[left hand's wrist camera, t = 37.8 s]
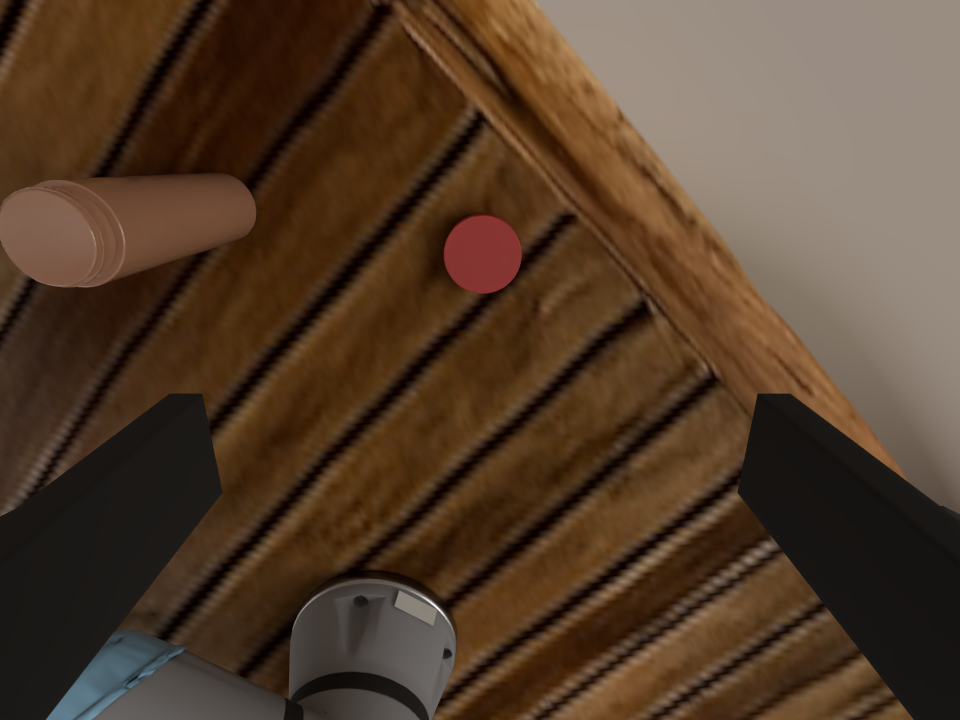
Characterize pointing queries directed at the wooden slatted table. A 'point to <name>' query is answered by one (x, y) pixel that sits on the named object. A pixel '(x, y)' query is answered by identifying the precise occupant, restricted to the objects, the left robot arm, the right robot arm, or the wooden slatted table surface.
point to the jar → (120, 224)
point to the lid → (482, 253)
